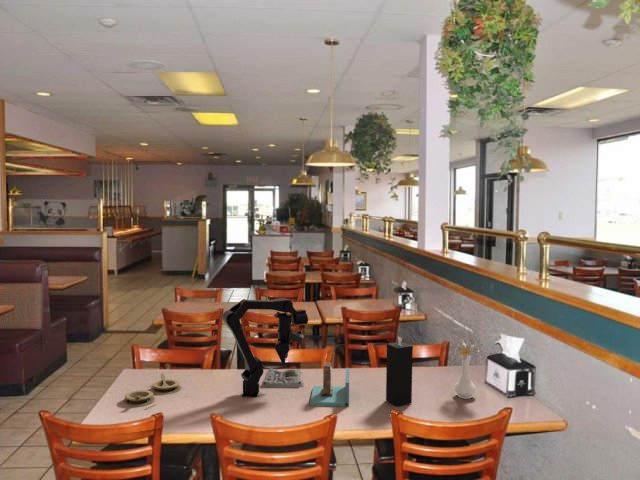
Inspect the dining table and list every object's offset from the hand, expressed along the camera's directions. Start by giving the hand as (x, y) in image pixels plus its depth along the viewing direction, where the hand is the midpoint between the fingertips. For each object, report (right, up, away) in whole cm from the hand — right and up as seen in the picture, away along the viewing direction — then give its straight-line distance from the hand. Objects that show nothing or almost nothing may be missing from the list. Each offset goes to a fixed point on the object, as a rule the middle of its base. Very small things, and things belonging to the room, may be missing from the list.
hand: (284, 360), depth 246 cm
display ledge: (+20, -14, -9) cm, 26 cm away
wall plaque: (-1, -13, +15) cm, 20 cm away
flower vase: (+79, -14, -6) cm, 80 cm away
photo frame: (+19, -12, -9) cm, 24 cm away
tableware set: (-57, -14, -8) cm, 59 cm away
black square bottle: (+49, -15, -14) cm, 53 cm away
